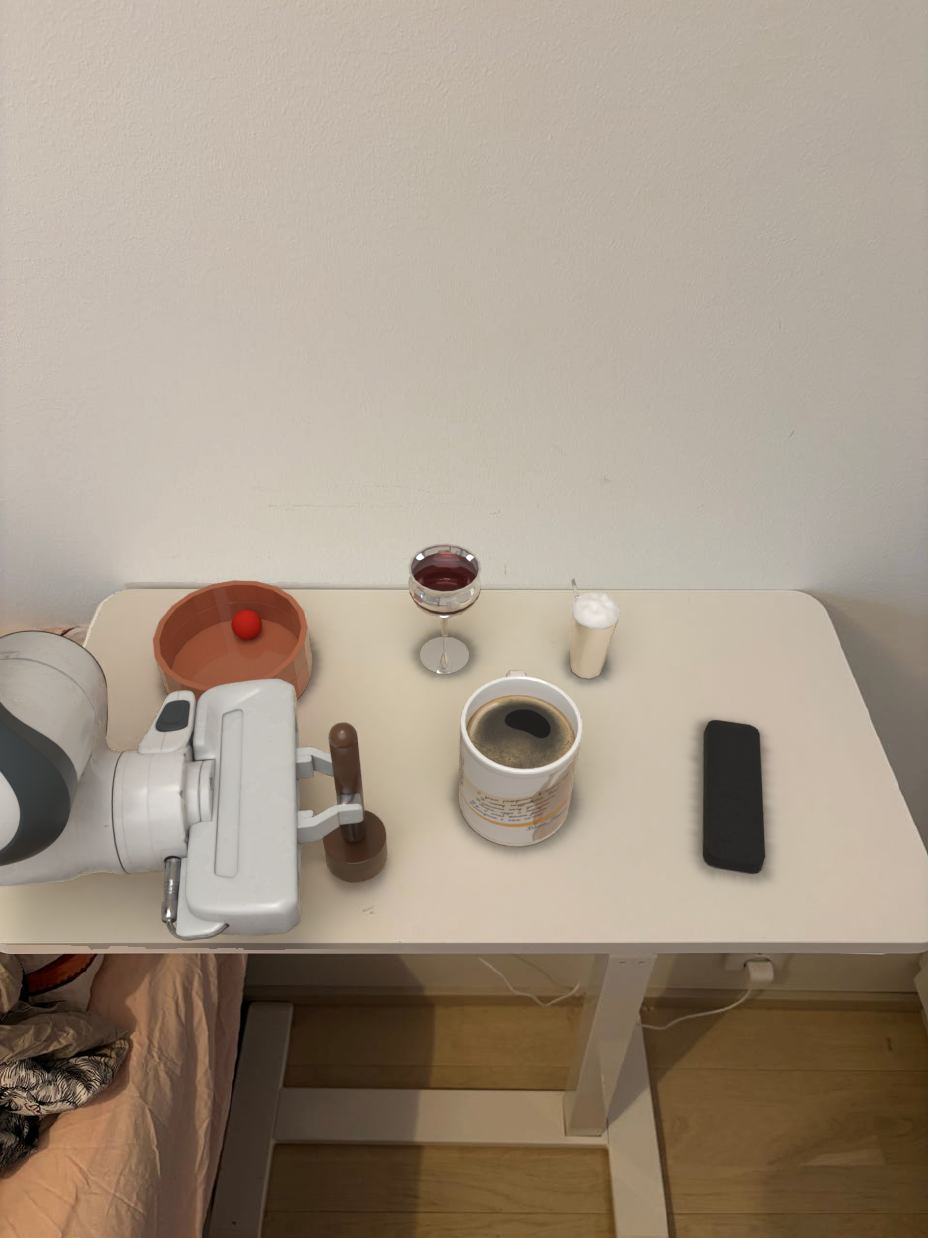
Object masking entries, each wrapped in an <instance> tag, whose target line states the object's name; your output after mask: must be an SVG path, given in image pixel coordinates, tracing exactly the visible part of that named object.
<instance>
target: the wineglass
mask: <svg viewBox="0 0 928 1238" xmlns="http://www.w3.org/2000/svg"><path fill="white" fill-rule="evenodd" d="M481 572H482V566H481V561H480V560H479V558H478V556H477V555H476V554H475V553H474V552H472V551H471V550H470V549H469V548H467V547H464V546H461V545H460V544H459V545H458V544H453V543H435V544H431V545H428V546H425V547H423V548H422V549H420V550H418V551H416V553H415V554H414V555H413V556H412V557H411V559H410V561H409V564H408V574H409V577H408V591H409V595H410V597H411V599H412V600H413V602H414V604H415V606H416V607H417V608H418V609H420V611H422V612H423V613H425V614H427V615H430V616H432V617H435V618H440V626H441V636H437V637H435V638H432V639H430V640H427V642H425V643H424V644H423V646H421V648H420V652H419V658H420V659H419V660H420V662H421V663H422V665H423V666H424V667H425V668H426V669H427V670H429V671H431V672H433V673H437V674H443V675H445V674H452V673H455V672H458V671H460V670H461V669H463V668H464V667H465V666H466V665H467V664H468V662H469V659H470V652H469V649H468V647H467V645H466V644H465V643H464V642H462V641H461V640H459V639H457V638H455V637H450V636H448V631H449V618H454V617H457V616H461V615H463V614H465V613H466V612H468V611H469V610H471V608H472V607H473V606H475V604H476V602H477V600H478V599H479V597H480V595H481V590H482V588H481V587H482V581H481V576H480V575H481Z"/></svg>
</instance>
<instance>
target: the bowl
mask: <svg viewBox="0 0 928 1238" xmlns="http://www.w3.org/2000/svg"><path fill="white" fill-rule="evenodd" d="M241 610H252V611H254V612H256V613H257V614H258V615H259V616H260V618H261V621H262V628H261V631H260V633H259V634H258V635H257V636H256V637H254V638H252V639H241V638H239V637H237V636H236V635H235V634H234V632H233V630H232V627H231V622H232V619H233V617H234V615H235V614H236V613H238V612H239V611H241ZM310 639H311V638H310V635H309V627H308V622H307V618H306V615H305V610H304V608H302V606H301V605H300V604H299V602H298V601H297V600H296V598H295V597H294V596H293V595H291V594H290V593H288V592H287V591H285V590H283V589H281V588H280V587H278V586H276V585H272V584H268V583H265V582H262V581H257V580H237V579H236V580H235V579H234V580H229V581H221V582H217V583H212V584H209V585H207V586H204V587H202V588H199V589H197V590H194V591H192V592H189V593H188V594H187V595H185V596H183V597H182V598H181V599H179V600H178V601H177V602H175V603H174V604H171V606H170V608H169V609H168V610H167V611H166V613H165V614H164V615H163V616H162V617H161V618H160V620H159V621H158V624H157V626H156V630H155V633H154V635H153V638H152V644H153V657H154V659H155V662H156V665H157V668H158V671H159V674H160V677H161V680H162V684H163V686H164V689H165V692H166V693H167V694H168V695H169V694H170V693H172V692H175V691H191V692H193V693H194V695H195V698H196V701H197V702H198V700H199V698H200V697H201V695H202V694H203V693H204V692H206V691H207V690H209V689H211V688H213V687H216V686H219V685H224V684H229V683H236V682H243V681H251V680H260V679H281V680H284V681H286V682H288V683H290V684H291V685H293V686H294V688H295V692H296V697H297V700H299V698H300V697H301V695H303V693H304V691H305V690H306V689H307V686H308V684H309V682H310V679H311V677H312V671H313V654H312V653H313V652H312V646H311V640H310ZM168 695H167V696H168Z"/></svg>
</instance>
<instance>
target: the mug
mask: <svg viewBox="0 0 928 1238" xmlns="http://www.w3.org/2000/svg"><path fill="white" fill-rule="evenodd" d="M459 719H460V720H459V757H458V759H459V760H458V762H459V763H458V805H459V808H460V811H461V814H462V816H463V818H464V819H465V821H466V822H467V824H468V825H469V826H470V827H471V828H472V830H474V831H475V833H477V834H478V835H480V836H481V837H482V838H484V839H486V840H488V841H489V842H492V843H495V844H497V845H502V846H506V847H528V846H531V845H535V844H538V843H540V842H542V841H543V842H544V841H545V840H546V839H549V838H550V837H551V836H553V835H554V834H555V833H556V832H557V831H558V830H559V829H560V828H561V827H562V825H563V824H564V823H565V821H566V819H567V816H568V814H569V810H570V804H571V799H572V794H573V789H574V782H575V778H576V777H575V776H576V771H577V766H578V760H579V755H580V748H581V744H582V738H583V732H584V729H583V728H584V727H583V725H584V724H583V719H582V715H581V713H580V710H579V708H578V706H577V704H576V703H575V702H574V700H573V699H572V698H571V697H570V696H569V694H568V693H566V692H565V691H564V690H563V689H561V688H560V687H559V686H557V685H556V684H553V683H552V682H550V681H547V680H544V679H541V678H538V677H533V676H528V674H527V673H526V671H525V670H516V669H515V670H514V669H513V670H511V669H510V670H509V671H508V672H506V674H505V676H504V677H499V678H496V679H492V680H490V681H488V682H486V683H484V684H482V685H481V686H479V687H478V688H477V689H476V690H475V691H473V693H472V694H471V695H470V696H469V698H468V699H467V700H466V702H465V703H464V705H463V707H462V710H461V714H460V718H459Z"/></svg>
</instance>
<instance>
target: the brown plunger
mask: <svg viewBox="0 0 928 1238" xmlns="http://www.w3.org/2000/svg"><path fill="white" fill-rule="evenodd" d="M328 744H329V745H328V746H329V754H331V761H332V768H333V775H334V777H333V782H334V790H335V796H336V798H337V795H339V794H347V795H350V794H352V793H359V794H361V797H362V807H363V821H362V822H359V823H351V824H342V825H339V827H338V828H336V829H335V830H333V831H332V832H330V833H329V834H327V835H326V836H324V837H323V838H322V843H323V849H324V855H325V862H326V865H327V867H328V869H329V871H330V872H331V873H332V874H333V875H334V877H336V878H337V879H338V880H339V879H340V880H341V881H343V882H347V883H354V884H355V883H363V882H366V881H369V880H371V879H373V878H375V877H376V876H377V875H378V874H380V872H381V871H382V870H383V869H384V867H385V866H386V863H387V860H388V854H389V853H388V839H387V838H388V837H387V829H386V826H385V824H384V823H383V821H382V819H381V818H380V817H379V816H378V815H376V814H375V813H373V812H371V811H369V810H367V809H366V807H365V798H364V797H365V796H364V786H363V778H362V777H363V776H362V768H361V757H360V747H359V738H358V732H357V729H356V728H355V727H354V726H353V725H352V724H351V723H349V722H345V721H342V722H341V721H340V722H338V723H335V724H334V725H333V726H332V727H330V728H329V732H328Z"/></svg>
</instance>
